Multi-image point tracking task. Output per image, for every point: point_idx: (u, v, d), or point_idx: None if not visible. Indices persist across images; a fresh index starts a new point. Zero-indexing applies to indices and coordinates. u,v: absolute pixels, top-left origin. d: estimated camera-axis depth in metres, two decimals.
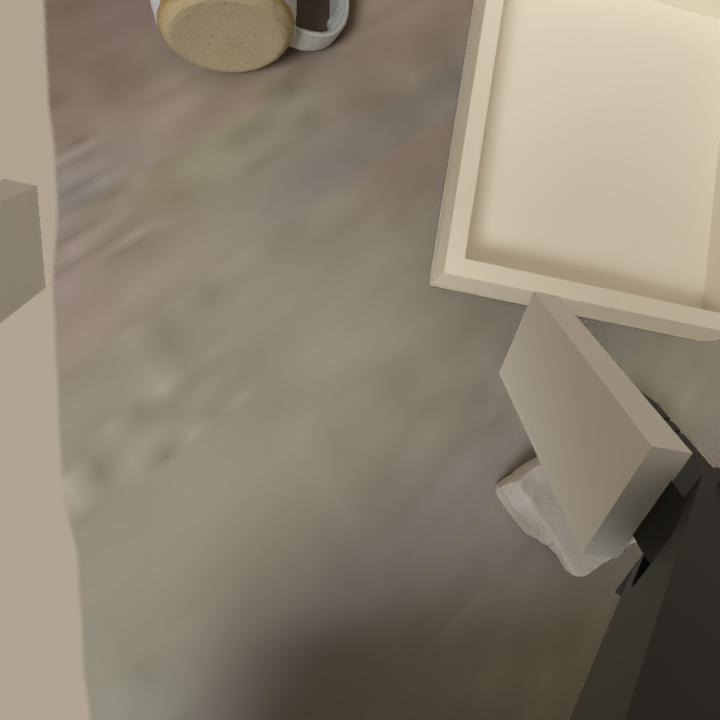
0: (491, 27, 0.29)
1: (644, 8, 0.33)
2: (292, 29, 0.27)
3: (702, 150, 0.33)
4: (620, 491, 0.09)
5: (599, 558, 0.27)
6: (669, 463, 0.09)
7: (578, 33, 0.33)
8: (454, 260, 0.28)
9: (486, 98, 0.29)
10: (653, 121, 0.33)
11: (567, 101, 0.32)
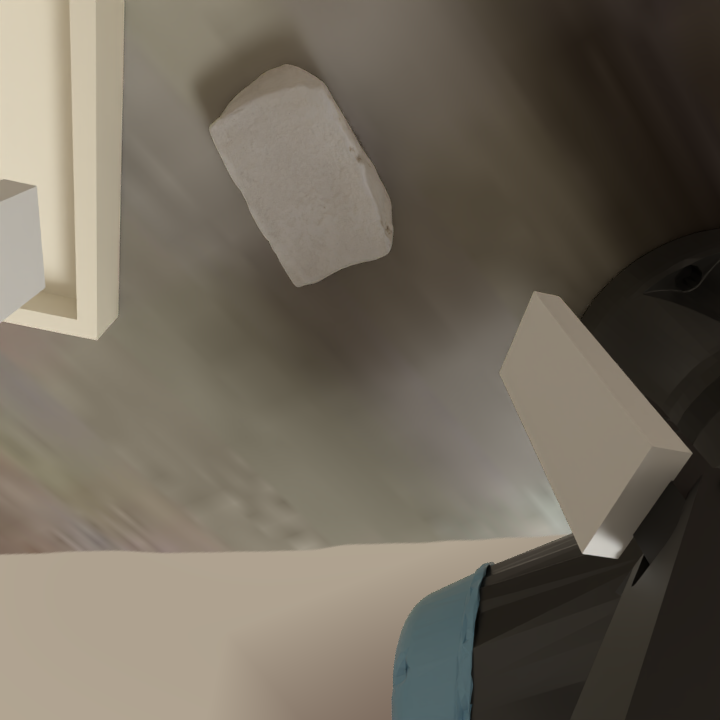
0: None
1: None
2: None
3: None
4: (620, 491, 0.09)
5: (374, 224, 0.24)
6: (669, 463, 0.09)
7: None
8: (81, 329, 0.28)
9: None
10: None
11: None
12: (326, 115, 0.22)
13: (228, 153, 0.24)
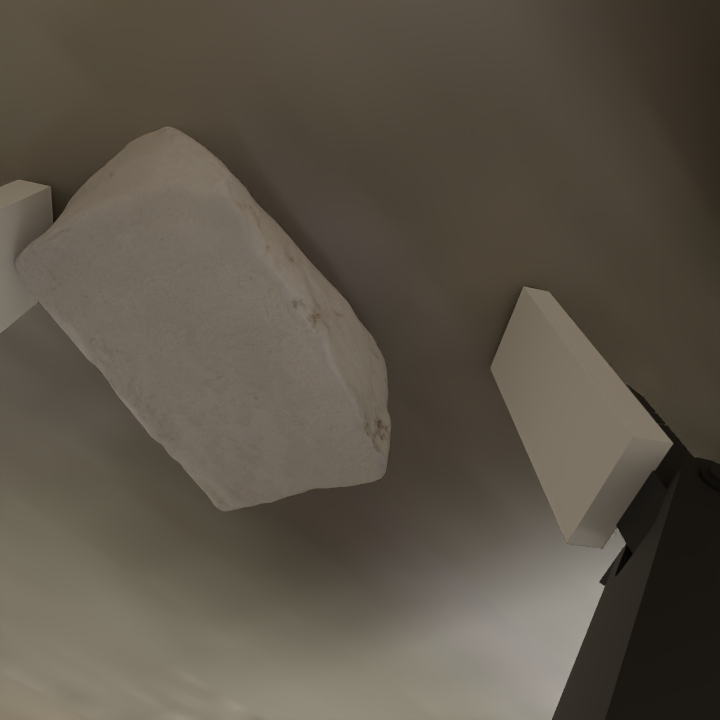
0: None
1: None
2: None
3: None
4: (603, 481, 0.09)
5: (352, 434, 0.12)
6: (650, 453, 0.09)
7: None
8: None
9: None
10: None
11: None
12: (236, 245, 0.10)
13: (59, 307, 0.12)
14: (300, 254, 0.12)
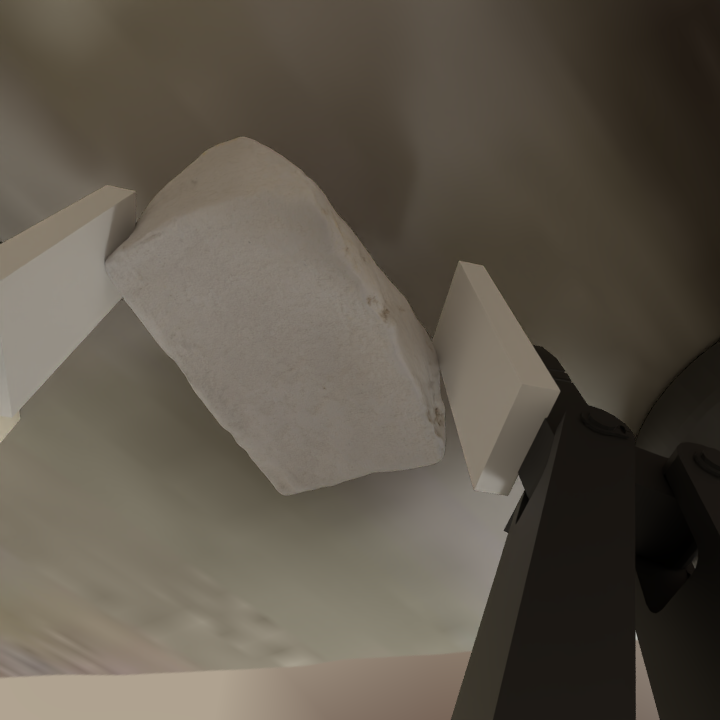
0: None
1: None
2: None
3: None
4: (501, 429, 0.10)
5: (415, 420, 0.13)
6: (541, 400, 0.10)
7: None
8: None
9: None
10: None
11: None
12: (320, 247, 0.11)
13: (144, 305, 0.13)
14: (368, 254, 0.13)
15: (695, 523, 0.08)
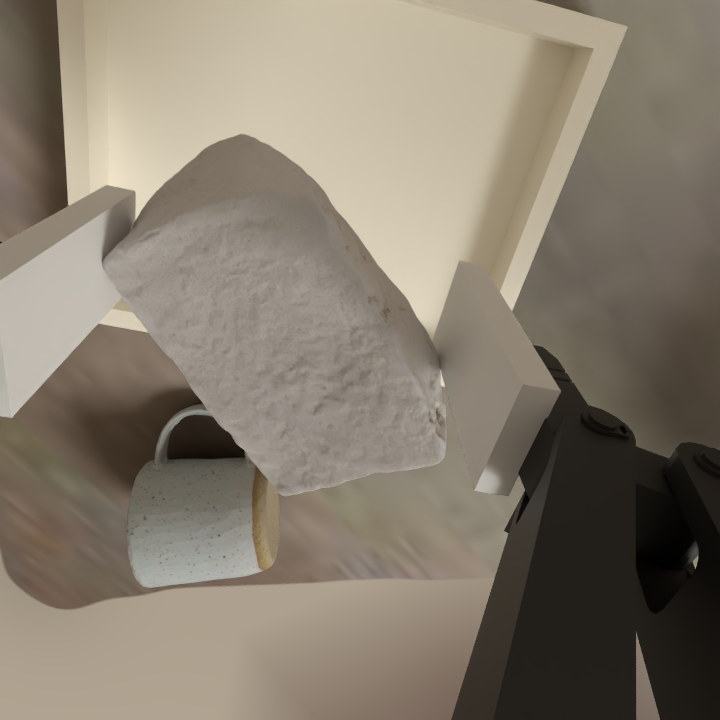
0: None
1: (123, 93, 0.24)
2: (259, 478, 0.32)
3: (326, 12, 0.22)
4: (502, 429, 0.10)
5: (416, 421, 0.13)
6: (541, 400, 0.10)
7: None
8: None
9: None
10: (289, 97, 0.24)
11: None
12: (321, 246, 0.11)
13: (143, 304, 0.13)
14: (369, 253, 0.13)
15: (695, 523, 0.08)
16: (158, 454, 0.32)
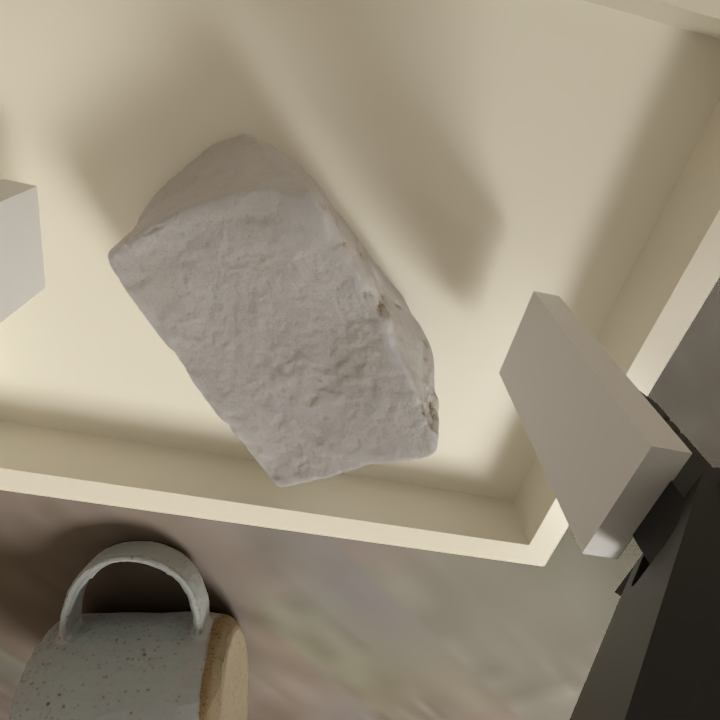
0: (153, 500, 0.18)
1: None
2: (213, 662, 0.21)
3: None
4: (620, 491, 0.09)
5: (409, 413, 0.14)
6: (669, 463, 0.09)
7: (80, 290, 0.16)
8: (529, 555, 0.19)
9: (277, 511, 0.18)
10: (245, 130, 0.14)
11: None
12: (318, 242, 0.12)
13: (146, 297, 0.13)
14: (365, 250, 0.13)
15: None
16: (64, 623, 0.22)
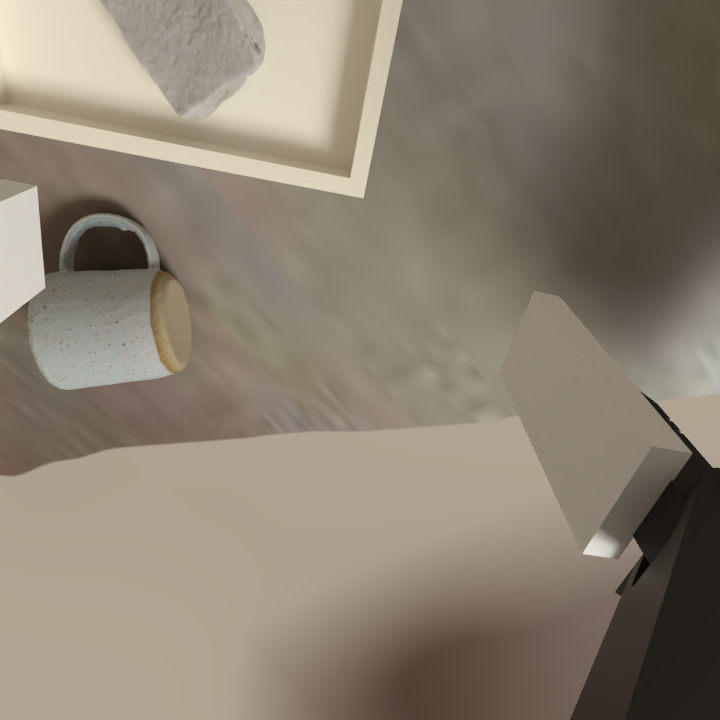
0: (115, 141, 0.30)
1: None
2: (160, 277, 0.33)
3: None
4: (620, 491, 0.09)
5: (238, 36, 0.26)
6: (669, 463, 0.09)
7: (66, 0, 0.28)
8: (352, 187, 0.31)
9: (191, 149, 0.30)
10: None
11: None
12: None
13: None
14: None
15: None
16: (62, 259, 0.33)
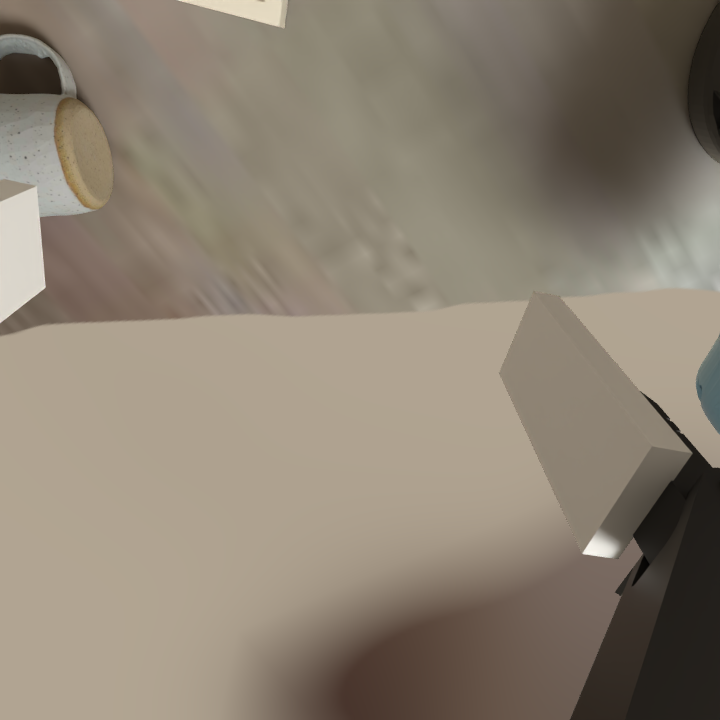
0: None
1: None
2: (71, 100, 0.32)
3: None
4: (620, 491, 0.09)
5: None
6: (669, 463, 0.09)
7: None
8: (267, 14, 0.31)
9: None
10: None
11: None
12: None
13: None
14: None
15: None
16: None
